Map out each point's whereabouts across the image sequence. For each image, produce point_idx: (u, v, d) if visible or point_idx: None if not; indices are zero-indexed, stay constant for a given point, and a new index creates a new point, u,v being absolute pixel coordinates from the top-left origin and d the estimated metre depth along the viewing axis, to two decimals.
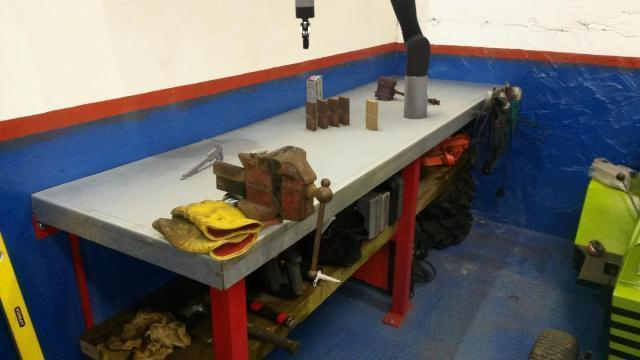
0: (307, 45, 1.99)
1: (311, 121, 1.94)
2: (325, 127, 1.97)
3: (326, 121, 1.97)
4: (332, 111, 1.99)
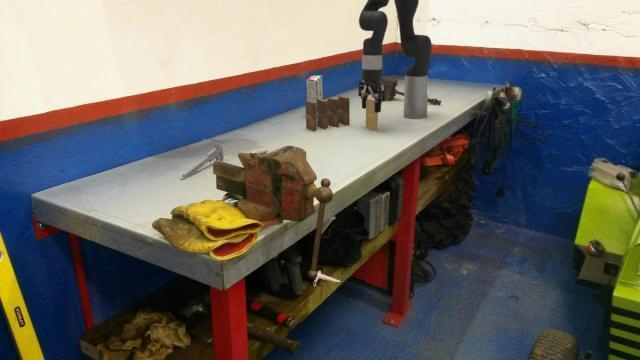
0: None
1: (311, 121, 1.94)
2: (325, 127, 1.97)
3: (326, 121, 1.97)
4: (332, 111, 1.99)
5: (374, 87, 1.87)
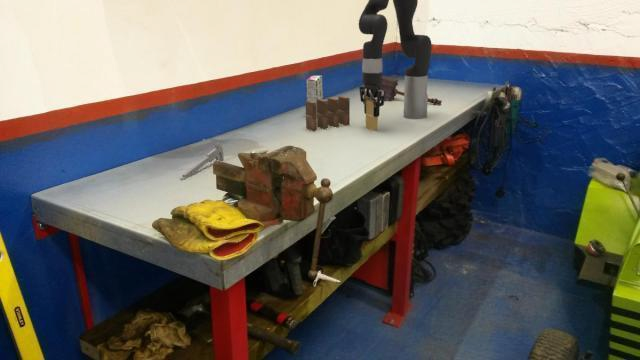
0: (364, 109, 1.97)
1: (311, 121, 1.94)
2: (325, 127, 1.97)
3: (326, 121, 1.97)
4: (332, 111, 1.99)
5: (374, 92, 1.88)
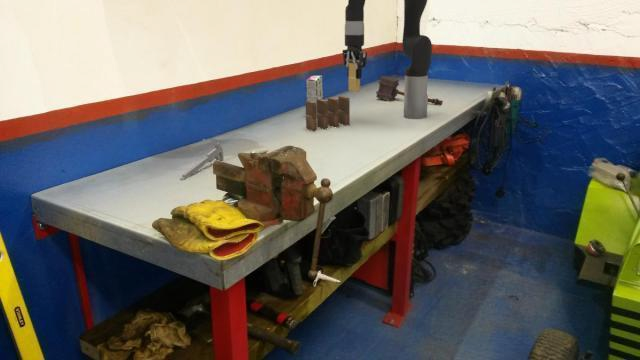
0: (347, 72, 2.03)
1: (311, 121, 1.94)
2: (325, 127, 1.97)
3: (326, 121, 1.97)
4: (332, 111, 1.99)
5: (356, 53, 1.94)
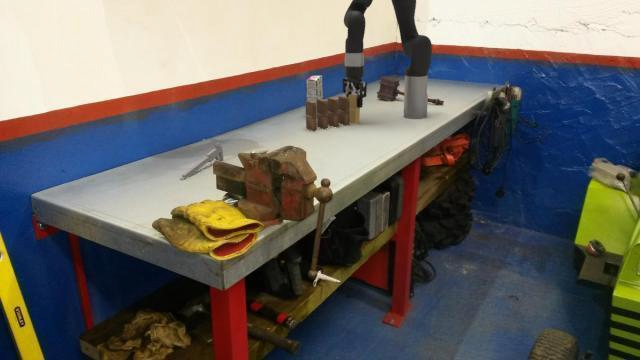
0: None
1: (311, 121, 1.94)
2: (325, 127, 1.97)
3: (326, 121, 1.97)
4: (332, 111, 1.99)
5: (356, 83, 1.98)
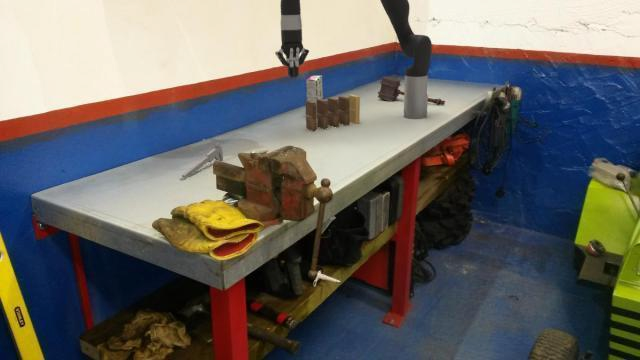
0: None
1: (311, 121, 1.94)
2: (325, 127, 1.97)
3: (326, 121, 1.97)
4: (332, 111, 1.99)
5: None
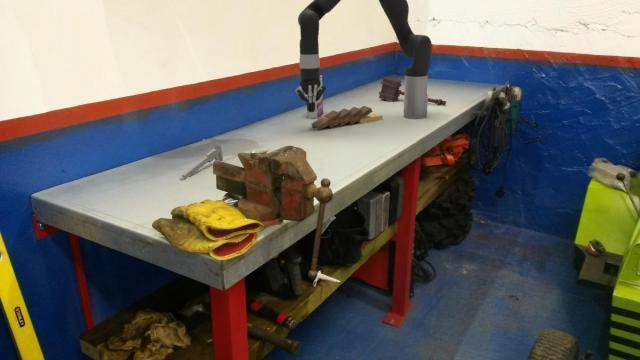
0: None
1: (324, 121, 1.97)
2: (331, 124, 1.98)
3: (336, 123, 1.99)
4: None
5: None
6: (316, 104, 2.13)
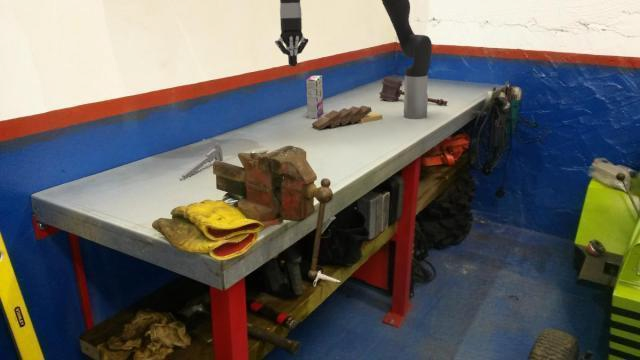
0: None
1: (324, 121, 1.97)
2: (332, 124, 1.98)
3: (337, 122, 1.99)
4: None
5: None
6: (316, 104, 2.13)
